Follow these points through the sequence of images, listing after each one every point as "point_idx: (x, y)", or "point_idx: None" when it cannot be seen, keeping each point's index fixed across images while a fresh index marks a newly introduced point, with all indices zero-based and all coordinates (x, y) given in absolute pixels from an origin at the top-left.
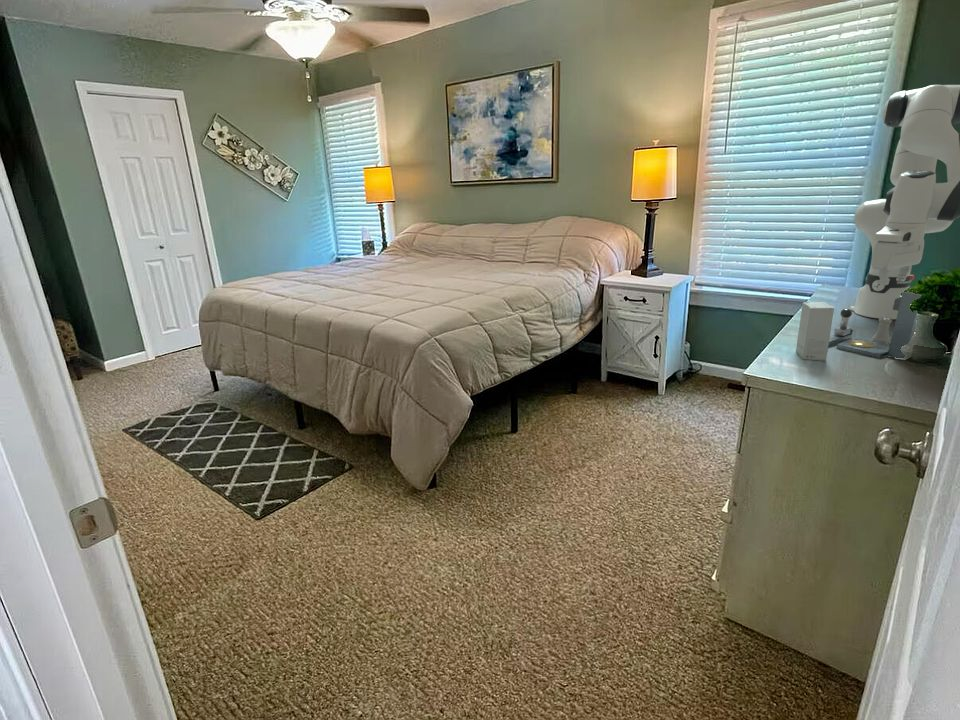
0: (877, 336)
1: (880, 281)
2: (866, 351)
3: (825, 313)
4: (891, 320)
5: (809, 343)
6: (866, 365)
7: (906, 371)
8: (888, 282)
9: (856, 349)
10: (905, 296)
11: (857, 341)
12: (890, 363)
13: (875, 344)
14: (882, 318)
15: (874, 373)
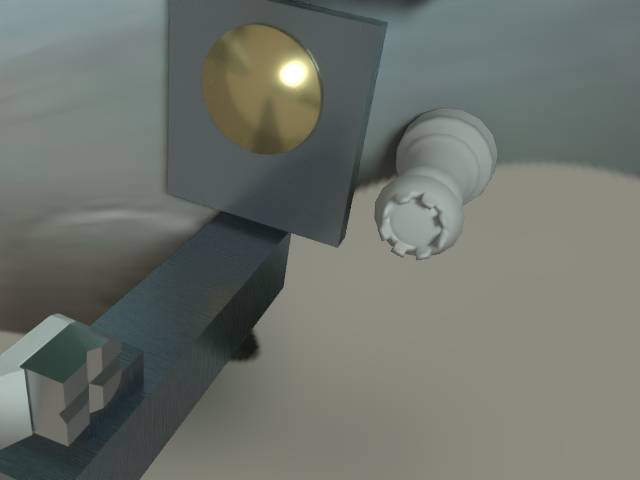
0: (405, 153)
1: (30, 340)
2: (170, 135)
3: None
4: (413, 254)
5: None
6: (60, 156)
7: (109, 275)
8: (90, 404)
9: (169, 88)
10: None
11: (285, 64)
12: (151, 226)
13: (314, 152)
14: (382, 207)
15: (7, 192)
